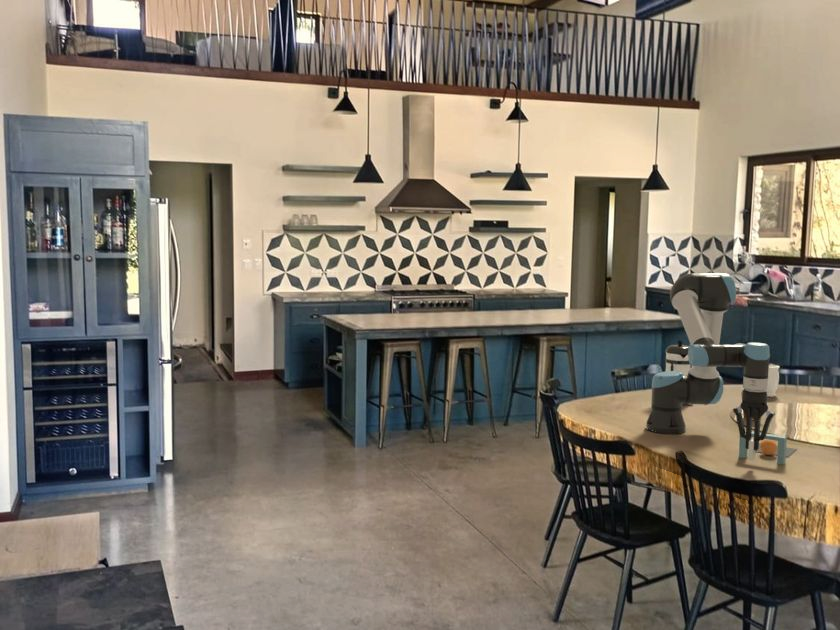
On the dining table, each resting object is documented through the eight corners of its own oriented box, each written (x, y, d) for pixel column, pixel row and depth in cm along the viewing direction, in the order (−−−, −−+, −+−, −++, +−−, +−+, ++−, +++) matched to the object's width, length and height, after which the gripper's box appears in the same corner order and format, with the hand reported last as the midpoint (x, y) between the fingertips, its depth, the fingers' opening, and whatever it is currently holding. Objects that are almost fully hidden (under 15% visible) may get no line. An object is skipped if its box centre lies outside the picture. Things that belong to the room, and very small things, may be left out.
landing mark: (749, 451, 277) (749, 450, 277) (759, 443, 287) (759, 443, 287) (788, 457, 269) (788, 456, 269) (796, 449, 279) (796, 449, 279)
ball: (759, 436, 272) (763, 440, 276) (757, 451, 271) (761, 455, 275) (776, 439, 268) (779, 443, 273) (773, 454, 267) (777, 458, 271)
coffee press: (702, 403, 358) (705, 340, 355) (681, 407, 349) (684, 342, 346) (671, 397, 372) (673, 336, 370) (650, 401, 363) (652, 338, 360)
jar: (782, 397, 373) (783, 367, 372) (760, 397, 373) (762, 367, 372) (772, 393, 384) (773, 363, 382) (751, 393, 384) (752, 363, 382)
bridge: (738, 457, 269) (739, 431, 268) (741, 455, 271) (742, 430, 270) (783, 464, 260) (784, 438, 259) (785, 462, 262) (786, 436, 261)
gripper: (731, 389, 254) (727, 458, 256) (773, 394, 246) (769, 465, 248) (737, 385, 260) (734, 452, 262) (779, 390, 252) (775, 460, 254)
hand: (751, 459), depth 255 cm, fingers closed
